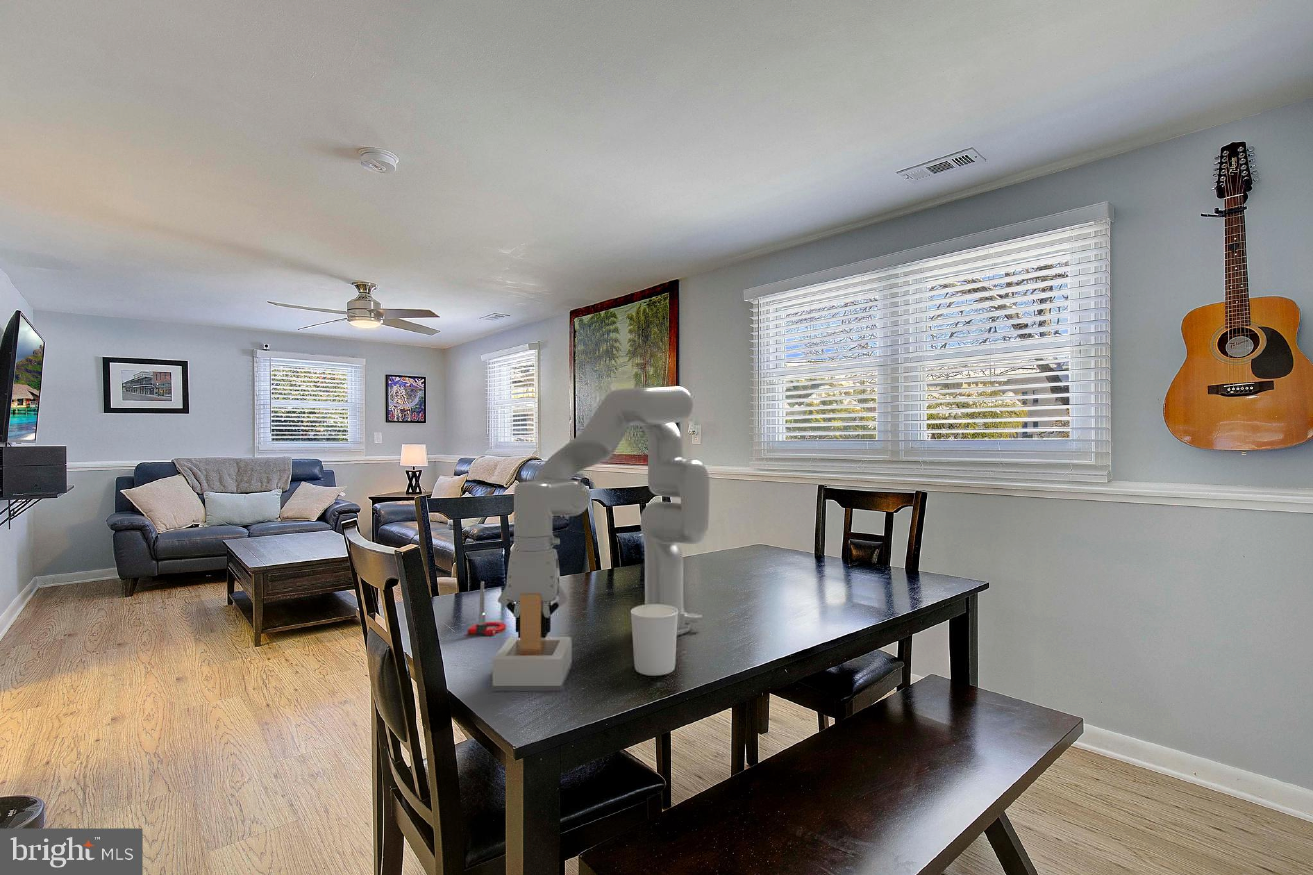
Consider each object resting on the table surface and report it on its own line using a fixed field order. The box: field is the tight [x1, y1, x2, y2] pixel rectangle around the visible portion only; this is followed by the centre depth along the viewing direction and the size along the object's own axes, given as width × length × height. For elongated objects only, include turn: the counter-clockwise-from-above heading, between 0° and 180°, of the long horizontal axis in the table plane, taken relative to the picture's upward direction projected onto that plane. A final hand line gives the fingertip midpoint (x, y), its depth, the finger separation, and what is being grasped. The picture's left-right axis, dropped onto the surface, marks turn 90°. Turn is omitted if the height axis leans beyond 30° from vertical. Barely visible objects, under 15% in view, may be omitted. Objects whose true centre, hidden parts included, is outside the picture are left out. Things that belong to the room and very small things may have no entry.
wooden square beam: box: [520, 594, 546, 656], centre depth 124 cm, size 4×5×12 cm
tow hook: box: [467, 581, 507, 637], centre depth 155 cm, size 8×13×9 cm
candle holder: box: [630, 604, 678, 676], centre depth 129 cm, size 10×10×12 cm
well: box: [492, 636, 572, 692], centre depth 124 cm, size 13×13×6 cm
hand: (533, 634), depth 124 cm, fingers closed on wooden square beam, 4 cm apart
